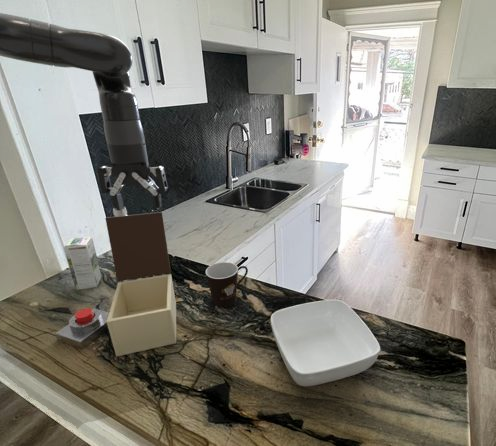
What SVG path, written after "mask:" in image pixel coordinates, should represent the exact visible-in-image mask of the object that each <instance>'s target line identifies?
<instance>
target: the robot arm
mask: <svg viewBox="0 0 496 446" xmlns="http://www.w3.org/2000/svg"><path fill="white" fill-rule="evenodd" d="M0 57H3V58H7V59H12V60H16V61H22V62H27V63H31V64H39V65H44V66H45V65H46V66H51V67H56V68H66V69H67V68H68V69H69V68H70V69H71V68H75V69H79V70H83V71H88V72H89V71H90V72H91V73H92V76H93V79H94V82H95V85H96V88H97V92H98V98H99V99H98V101H99V106H100V110H101V115H102V120H103V121H102V122H103V131H104V136H105V141H106V145H107V150H108V154H109V159H110V163H111V166H108V165H102V166H100V167H98V168H97V175H98V181H99V187H100V192H101V193H102V194H108V195H109V196H111V200H112V204H113V208H116V209H117V210H122V209H123V208H124V207H125V206H124V202H123V197H122V193H120V192H121V191H122V189H123V187H124V186H125V187H131V186H135V187H140V186H142V187H143V188H144V189H146V190H148V192H150V193H151V194H152V195H151V200H152V206H153V210H154V211H159V210H160V209H161V207H162V205H163V202H162V201H163V200H162V195H161V194H164V193H165V192H166V191H168V189H169V185H168V182H167V176H166V171H165V167H164V165H159V166H152V167H151V166H150V164H149V157H148V151H147V145H146V136H145V132H144V128H143V125H142V122H141V117H140V111H139V105H138V101H137V97H136V94H135V93H134V91H133V89H132V84H131V83H132V82H131V78H130V70H131V68H132V65H133V54H132V52H131V50H130V48H129V47H128V46H127V45H126V43H125V42H123V40H121V39H120V38H118V37H116V36H113V35H111V34H106V33H102V32H95V31H90V30H81V29H74V28H68V27H64V26H60V25H57V24H54V23H49V22H45V21H41V20H37V19H32V18H28V17H23V16H19V15H15V14H14V15H13V14H7V13H3V12H0ZM151 174H153V176H154V177H155V178H156V180H157V184H158V185H157V184H156V182H155V181H154V179H153V178H151V177H150V175H151ZM112 175H113V176H114V177H115V178H116V180H115V182H114V184H113V186H112V183H111V178H110V177H111V176H112Z"/></svg>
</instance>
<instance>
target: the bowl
mask: <svg viewBox="0 0 496 446" xmlns="http://www.w3.org/2000/svg"><path fill="white" fill-rule="evenodd" d="M270 327H271V331H272V334H273V337H274V341H275V345H276V347H277V348H278V352H279V353H280V355H281V359H282V360H283V363H284V364H285V365H284V366H285V367H286V369H287V372H288V373H289V375H290V377H291V378H292V380H293V381H294V382H295V383H296V384H297V385H298V386H300V387H314V386H317V385H322V384H326V383H332V382H334V381H338V380H341V379H346V378H348V377H351V376H355V375H357V374H360V373H362V372H364V371H367V370H368V369H370V368H371V367H372V366H373V365H374V364H375V362H376V361H377V359H378V357H379V356H380V353H381V346H380V345H381V344H380V343H379V341H378V340H377V338H376V336H375V335H374V334H373V332H372V331H371V329H370V327H368V325H367V324H366V323H365V322H364V321H363V320H362V318H361V317H360V316H359V315H358V314H357V312H355V310H354V309H353V308H352V307H351V306H349V304H347V303H346V302H344V301H343V300H340V299H325V300H318V301H311V302H305V303H300V304H296V305H293V306H288V307H285V308H280V309H278V310H276V311H274V312H273V313H272V314H271V316H270Z"/></svg>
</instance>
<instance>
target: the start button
mask: <svg viewBox="0 0 496 446" xmlns="http://www.w3.org/2000/svg"><path fill="white" fill-rule="evenodd" d="M74 315H75V318H76V321H77V323H78V324H82V323H86V322H89V321H91V320H92V319H93V318H94V314H93V310H92V308H89V307H87V308H83V309H80V310H78V311H77V312H76V313H75V314H74Z"/></svg>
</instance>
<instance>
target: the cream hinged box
mask: <svg viewBox="0 0 496 446" xmlns="http://www.w3.org/2000/svg"><path fill="white" fill-rule="evenodd" d="M107 325H108V333H109V335H110V340H111V343H112V346H113V349H114V353H115V357H120V356H125V355H129V354H133V353H138V352H144V351H147V350H152V349H156V348H162V347H165V346H170V345H175V344H177V302H176V295H175V289H174V283H173V277H172V273H167V274H160V275H154V276H148V277H142V278H135V279H129V280H123V281H117V285H116V288H115V292H114V295H113V298H112V302H111V305H110V309H109V315H108V319H107Z"/></svg>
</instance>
